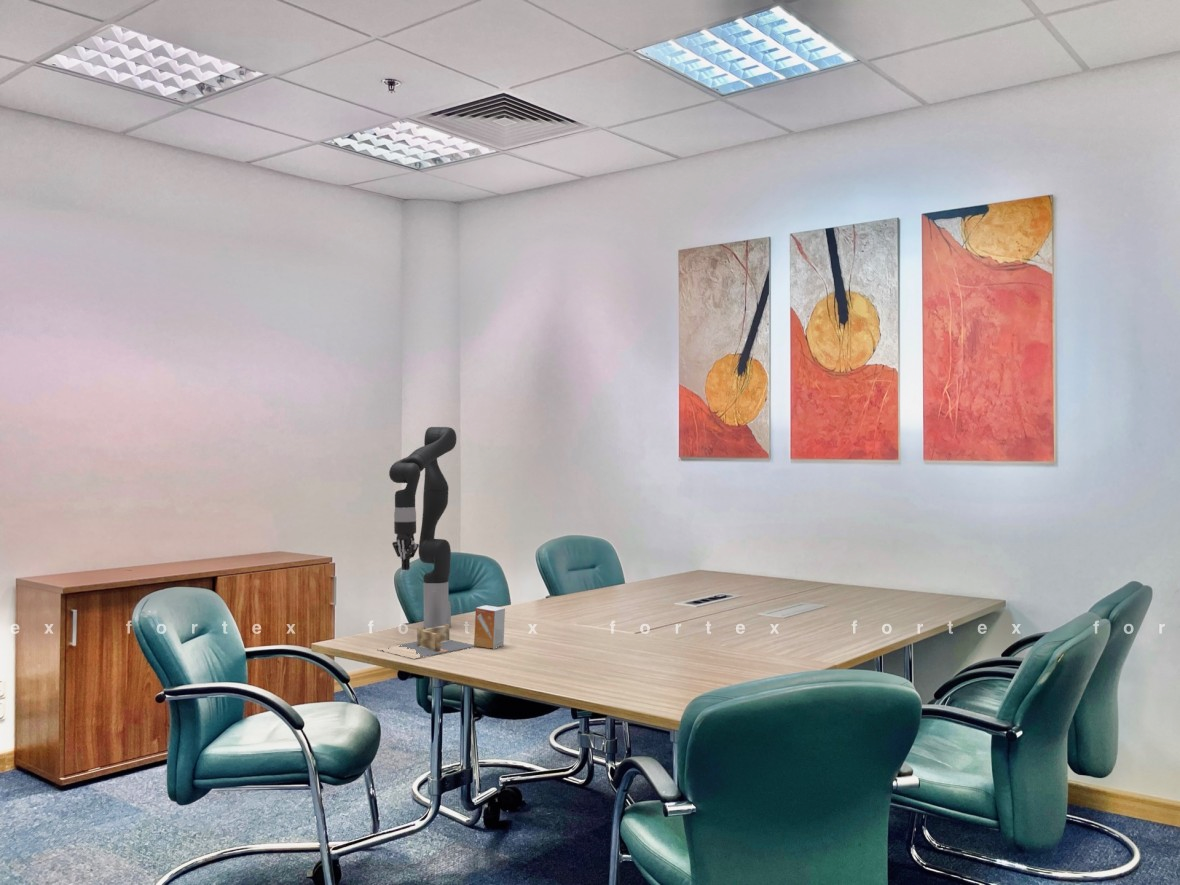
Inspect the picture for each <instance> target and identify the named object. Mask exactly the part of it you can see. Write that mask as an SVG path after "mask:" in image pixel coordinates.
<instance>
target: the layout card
mask: <svg viewBox="0 0 1180 885" xmlns="http://www.w3.org/2000/svg"><path fill="white" fill-rule="evenodd" d="M399 645H400V646H399V647H407V649H409V648H410V649H415V650H416V654H418V653H419V654H420V657H423V656H429V655H434V656H436V655H435V654H439V655H443V654H442V653H444V654H448V653H447V652H449V653H453V651H454V652H458V651H459V652H460V651H463V649H464V650H468V649H467V648H469V649H472V648H471V647H474V648H477V647H476V645H474V644H471V643H467V642H462V641H458V640H453V639H449V641H443V642H441V650H435V649H431V648H428V647H425V646H417V641H412V643H411V642H407V643H401V644H399ZM401 645H402V646H401ZM388 649H389V648H388ZM429 657H430V656H429Z"/></svg>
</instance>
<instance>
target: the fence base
mask: <svg viewBox="0 0 1180 885" xmlns="http://www.w3.org/2000/svg"><path fill="white" fill-rule="evenodd" d="M420 630H425V631H429V632H433V633H436V634H437V633H440V635H441V642H443V641H449V640H450V627H449V624H444V626H439V627H434V628H428V629H424V627H417V628H416V642H417V646H421V631H420Z"/></svg>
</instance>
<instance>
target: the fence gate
mask: <svg viewBox="0 0 1180 885" xmlns="http://www.w3.org/2000/svg"><path fill="white" fill-rule="evenodd" d="M420 631H421V646H425V647H428V648H431V649H435V650H441V635H440V633H437V634H436V633H433V632H429V631H425V630H420Z"/></svg>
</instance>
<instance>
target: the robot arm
mask: <svg viewBox="0 0 1180 885" xmlns="http://www.w3.org/2000/svg"><path fill="white" fill-rule="evenodd" d="M456 445H457V433H456V431H455V430H454V428H452V427H449V426H430V427H427V429H426V430H425V433H424V445H423V446H421V447H418V448H416V449H415V450H414V451H413V452H411V453H410V454H409V455H408V456H406V457H404V458H402V459H400V460H397V461H395V462H394V463H393V464H391V466H390V468H389V472H388V473H389V474H388V477H389V479H390V480H391V481H392V482H393V483H396V484H406V485H405V488H403V489H398V490H396V492H395V494H394V512H393V513H394V514H393V518H394V522H393V523H394V524H393V528H394V529H393V530H394V532H393V533H394V534H395V535H396V539H395V541H392V547H393V550H394V552H395V553H396V556H397V557H398V558H400V559H401V570H402V571H410V566H411V564H410V563H411V562H410V561H411V560H410V559H412V558H414V556H415V555H416V553H417V550H418V558H419V559H420V561H421V563H424V564H434V566H433V570H431V571H430V572H427V573H424V575H423V576H422V577H423V578H422V580H423V582H422V583H423V629H424V628H425V629H428V628H434V627H439V626H444V624H449V628H451V627H452V620H451V619H452V612H451V611H452V607H451V606H452V602H451V601H449V577H450V572H451V557H452V556H451V555H452V552H451V551H452V550H451V545H450V542H449V541H448V540H446V539H443V538H435V532H436V527H437V525H438V522H439V520H440V519H441V518H442V516H443V514H444V512H445V511H446V509H447V506H448V503H449V484H448V482H447V480H446V477H445V476H444V474H443V472H442V470H441V468H440V466H439V463H438V458H440V457H442V456H443V455H445V454H447V453H449V452H450V451H452V450H453V449H454V448H456ZM423 470H424V483H423V494H422V495H423V497H422V498H423V499H422V500H423V501H422V503H423V504H422V517H421V518H422V520H421V521H422V522H421V529H420V536H419V542H418V543H416V542H415V534H416V533H417V510H416V496H417V495H416V494H417V490H418V485H419V481H420V479H421V472H423Z"/></svg>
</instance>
